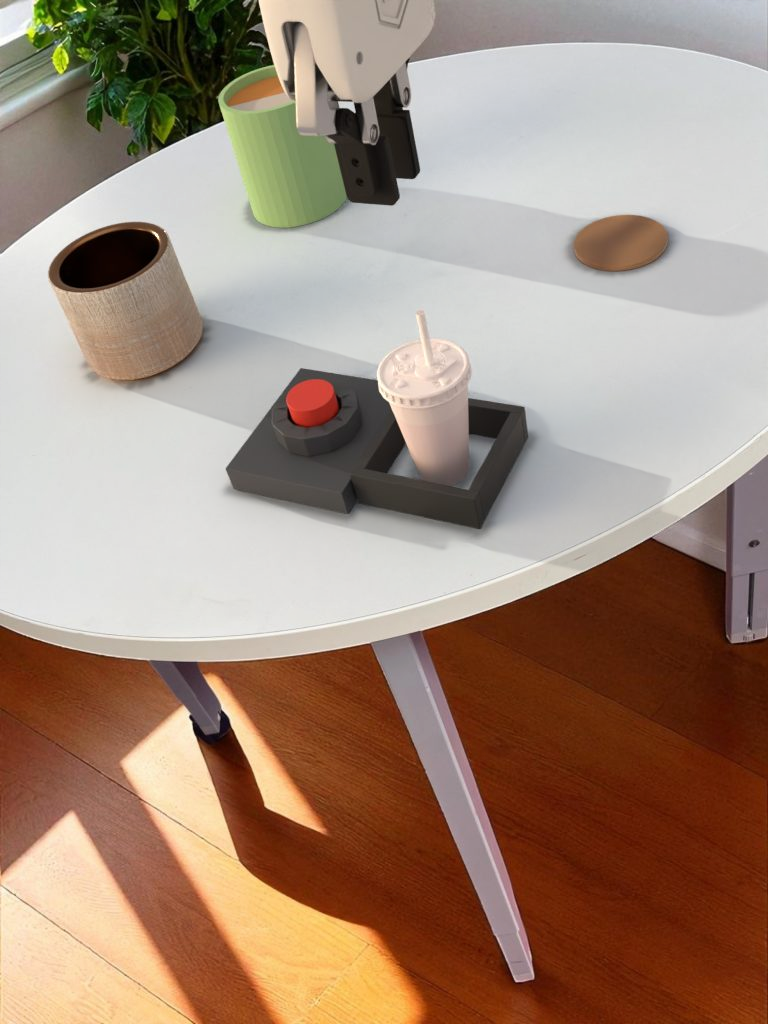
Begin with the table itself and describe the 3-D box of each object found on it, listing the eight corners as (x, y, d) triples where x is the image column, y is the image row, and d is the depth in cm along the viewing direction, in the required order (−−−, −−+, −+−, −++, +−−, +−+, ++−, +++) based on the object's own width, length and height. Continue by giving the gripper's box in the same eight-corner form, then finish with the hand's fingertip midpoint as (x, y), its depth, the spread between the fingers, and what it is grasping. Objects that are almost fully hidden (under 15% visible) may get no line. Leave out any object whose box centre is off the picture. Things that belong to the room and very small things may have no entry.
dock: (529, 437, 79) (525, 406, 77) (480, 529, 73) (474, 499, 71) (412, 417, 83) (405, 387, 81) (358, 503, 78) (349, 474, 75)
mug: (358, 211, 106) (331, 95, 98) (256, 237, 106) (220, 123, 98) (342, 154, 115) (316, 43, 107) (248, 178, 115) (215, 69, 107)
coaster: (678, 223, 94) (678, 217, 94) (652, 275, 90) (652, 270, 89) (590, 216, 98) (590, 211, 97) (561, 266, 93) (561, 261, 93)
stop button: (347, 400, 80) (342, 382, 79) (325, 432, 78) (319, 414, 77) (306, 393, 82) (300, 375, 81) (283, 424, 80) (277, 406, 78)
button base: (416, 406, 84) (407, 366, 81) (348, 514, 77) (336, 475, 74) (307, 388, 88) (295, 350, 85) (233, 489, 81) (217, 451, 78)
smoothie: (489, 495, 76) (462, 337, 66) (400, 506, 76) (360, 351, 67) (485, 434, 80) (459, 277, 70) (401, 445, 81) (363, 292, 71)
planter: (66, 376, 96) (20, 287, 89) (131, 304, 102) (93, 216, 95) (164, 392, 91) (124, 299, 85) (226, 315, 98) (193, 224, 91)
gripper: (296, -112, 43) (383, 273, 56) (450, -233, 52) (495, 123, 65) (148, -102, 46) (263, 260, 59) (318, -218, 55) (385, 118, 68)
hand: (384, 186), depth 62 cm, fingers closed
